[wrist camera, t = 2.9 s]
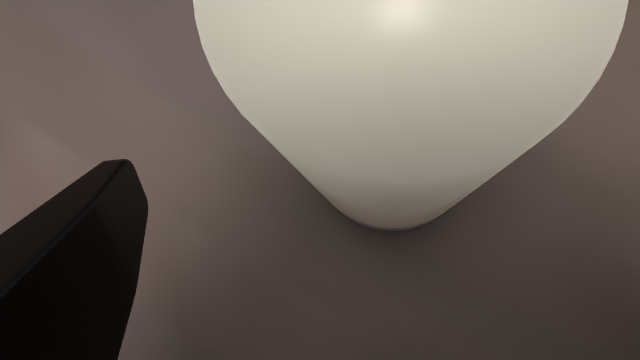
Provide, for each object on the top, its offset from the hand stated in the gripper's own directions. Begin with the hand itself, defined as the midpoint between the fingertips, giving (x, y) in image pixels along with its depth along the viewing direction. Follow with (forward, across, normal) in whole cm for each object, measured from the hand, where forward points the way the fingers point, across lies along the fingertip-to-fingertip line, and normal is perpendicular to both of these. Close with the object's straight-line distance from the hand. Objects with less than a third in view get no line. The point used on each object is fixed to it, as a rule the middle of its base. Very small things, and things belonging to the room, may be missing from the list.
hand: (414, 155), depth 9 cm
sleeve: (+8, 0, +5) cm, 9 cm away
